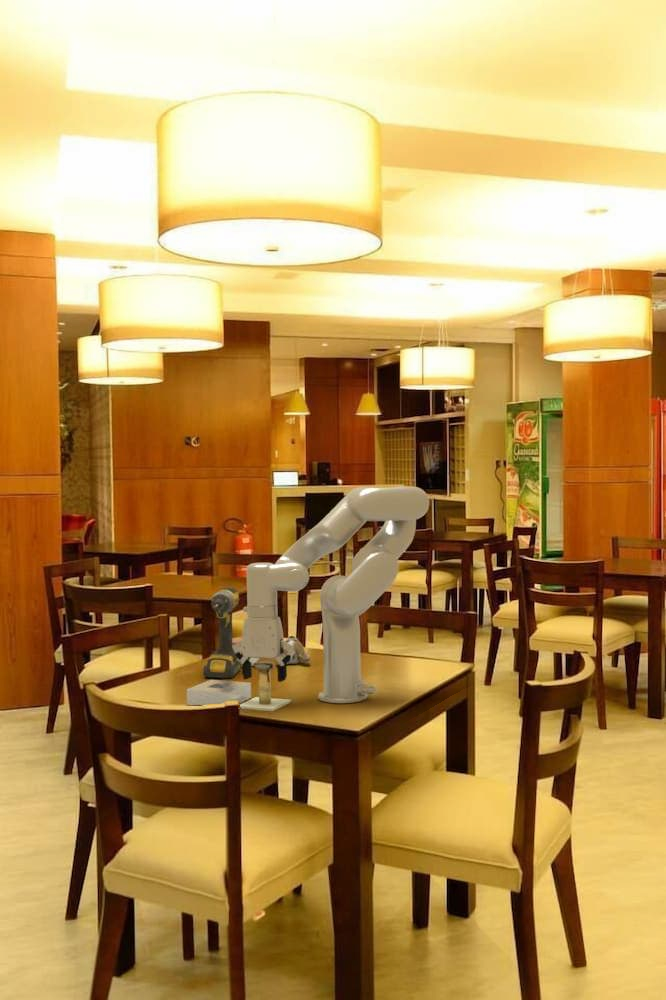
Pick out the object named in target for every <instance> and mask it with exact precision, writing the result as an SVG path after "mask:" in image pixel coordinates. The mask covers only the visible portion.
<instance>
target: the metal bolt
mask: <svg viewBox="0 0 666 1000" xmlns="http://www.w3.org/2000/svg"><path fill="white" fill-rule="evenodd" d="M253 668H254V669H255V670H258V672H257V674H258V697H259V704H261V705H267V704H271V698H272V691H271V689H272V686H271V684H272V683H271V680H272V679H271V670H272V669H275V662H274V661H269V660H262V661H259V660H258V662H255V663H254V666H253Z"/></svg>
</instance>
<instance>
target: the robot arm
mask: <svg viewBox="0 0 666 1000" xmlns="http://www.w3.org/2000/svg"><path fill="white" fill-rule="evenodd" d="M429 507H430V499H429V496H428V494H427V492H426V491H424V489H422V488H420V487H417V486H412V485H411V486H407V485H406V486H405V485H403V486H401V485H400V486H396V487H371V486H370V487H369V486H368V487H366V486H359V487H355V488H353V489H351V490H350V491H349V492H348V493H347V494H346V495H345V496H344V497H343V498H342V499H341V500H340V501H339V502H338V503H337V504H336V505H335V507H333V508H332V509H331V510H330V511H329V513H327V514H326V515H325V516H324V518H322V519H321V520H320V521H319V522H318V523H317V524H316V525H314V527H312V528H311V529H310V530H308V531H307V532H306V533H305V534H304V535H303V536H301V537H300V538H299V539H297V540H296V541H295V542H294V543H293V544H292V545H291V546H290V547H288V549H287V550H286V551H285V552H284V553H283V554H282V555H281V556H280V557H279V558H278V559H277V561H276V562H275V563H272V562H254V563H253V562H252V563H249V564H248V565H247V567H246V599H247V604H246V606H244V607H243V608H242V611H243V612H244V613H246V615H247V616H246V617H244V620H243V625H242V626H243V627H242V632H241V633H242V634H241V637H242V641H240V642H238V643H236V644H234V645H233V646H232V648H233V650H234V652H235V653H236V657H237V658H238V659H239V660H240V663H241V664H242V667H241V669H242V670H241V671H242V677H243V680H248V679H250V678H252V676H253V675H252V666H251V662H249V660H250V659H251V658H260V659H265V660H267V659H268V660H269V659H270V660H273V659H276V660H275V662H276V661H277V662H278V663H279V664H278V663H277V664H278V665H277V668H276V669H277V682H278V683H282V682H283V681H286V679H287V676H288V674H287V665H289V664H288V662H289V661H290V660H291V659H292V658H293V655H294V653H295V650H296V648H295V647H293V646H291V645H290V644H288V643H287V642H285V639H284V630H283V625H282V620H281V617H280V616H279V615H278V612H279V611H278V591H283V592H298V591H299V592H300V591H301V590H303V589H304V588H305V587H307V585H308V583H309V580H310V573H309V571H308V569H309V568H310V567H311V566H312V565H314V564H315V563H316V562H317V561H319V560H320V559H321V558H323V557H324V556H326V555H329V554H332V553H334V552H336V551H337V550H340V549H341V548H342V547H343V546H344V545H345V544H346V543H347V542H348V541H349V540H350V539H352V537H353V536H354V535H355V534H356V533H357V532H358V530H360V529H361V528H362V527H363V526H364V525H365V524H366V522H384V524H383V525H382V526H381V528H380V529H379V530H378V531H377V533H376V534H375V535H374V536H373V537H372V538H371V539H370V540H369V541H368V542H367V543H366V544H365V545H364V546H363V547H362V548H361V549H360V550H359V551H358V552H357V553H356V554H355V555H354V557H353V558H352V561H351V573H350V574H349V575H348V576H346V575H339V574H338V575H333V576H331V577H330V578H328V579H326V581H325V582H323V585H322V586H321V589H320V594H319V595H320V597H319V599H320V600H319V601H320V609H321V616H322V633H323V635H322V636H323V638H322V641H323V645H322V646H323V647H322V648H323V688H324V690H322V691H320V692H319V693H318V697H317V698H318V700H320V701H321V702H324V703H331V704H351V703H358V702H362V701H365V700H367V698H368V695H375V694H376V691H377V689H376V686H375V685H373V684H371V685H368V684H367V685H366V682H365V679H362V673H361V672H362V671H361V669H362V668H361V625H360V616H361V615H362V614H364V613H365V612H366V611H367V610H369V609H370V608H371V606H372V605H373V604H375V602H376V601H377V600H378V599H379V598H380V597H381V596H382V595H383V594H384V593H385V592H386V591H387V590H388V589H389V588H390V587H391V585H393V583H394V582H395V580H396V578H397V577H398V573H399V569H400V567H399V565H400V564H399V561H398V559H399V558H400V557H401V556H402V555H403V553H405V551H406V550H407V549H408V548H409V547H410V545H412V542H413V540H414V536H415V534H416V528H417V527H416V526H417V520H419V519H420V518H422V517H423V516H425V515H426V513H428V510H429ZM241 646H242V652H241V649H240V647H241ZM284 649H286V650H287V651H288V653H287V656H286V657H285V656H284V655H283V654H284Z"/></svg>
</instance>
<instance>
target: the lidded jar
mask: <svg viewBox="0 0 666 1000" xmlns="http://www.w3.org/2000/svg"><path fill="white" fill-rule="evenodd" d="M240 641H242V636H237V637H232V646H233V645H234V644H236V643H238V642H240ZM240 649H241V652H242V646H241V647H240ZM260 659H261V658H251V659H250V660H249V662H251V667H254V663H255V662H259V660H260ZM237 661H240V660H239V659H238V660H237ZM241 668H242V664H241Z"/></svg>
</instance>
